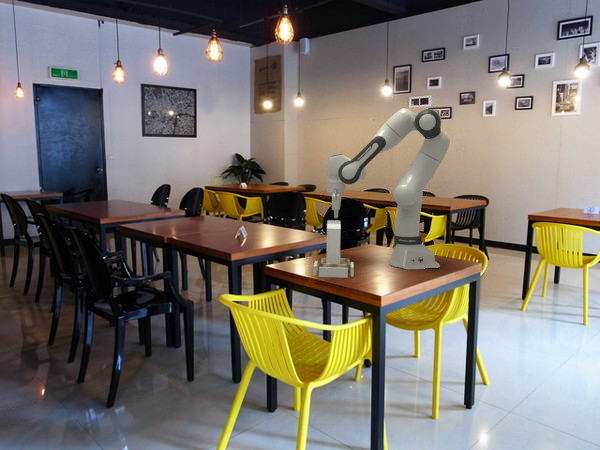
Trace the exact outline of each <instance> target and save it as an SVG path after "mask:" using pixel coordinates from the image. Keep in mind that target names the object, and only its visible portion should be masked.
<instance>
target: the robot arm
mask: <svg viewBox="0 0 600 450" xmlns="http://www.w3.org/2000/svg"><path fill="white" fill-rule="evenodd" d="M441 126H442V117H441V115H440V113H439V112H438V111H436V110H434V109H432V108H428V109H424V110H421V111H420V112H418V113H415V112H414V111H412V110H411V109H409V108H406V107H403V108H400V109H399V110H397V111H396V112H395V113H394V114H392V115H391V116H390V117H389V118H388V119H387V120H386V121H385V122H384V123H383V124H382V126H380V128H379V129H378V130H377V132H376V133H375V135H374V136H373V137H372V138H371V140H370V141H369V142H368V143H367V144H366V145H365V147H363V148H362V149H361V150H360V151H359V152H358V154H357V155H355V156H354V157H353V158H352V159H351V158H349V157H348V156H346V155H345V154H341V153H340V154H334V155H331V156H330V157H329V158H328V160H327V170H326V172H327V173H326V174H327V182H326V192H327V193H329V197H331V210H332V211H333V213H334V214H333V217H334V219H338V218H339V211H340V209H341V205H342V204H341V202H342V197H343V196H344V193H346V191H347V185H352V184H355V183H357V182H358V183H359V182H360V181H362V180H364V179H365V177H366V175H367V169H366V167H367V166H368V165H369V163H370V162H371V161H373V160H374V159H375V158H376V157H377V156H378V155H380V154H381V153H384V152H386V151H389V150H392V149H393V148H394V147H396V146H397V145H398V144H400V143H401V142H402V140H404V139H405V138H406V137H407V136H408V135H409V134H410V133H411V132H413V131H416V132H418V133H420V135H421V136H423V138H424V140H423V143H422V145H421V146H420V149H419V150H418V152H417V153H416V155H415V158H414V159H413V161H412V162H411V164H410V165H409V167H408V169H407V170H406V171H405V173H404V174H403V176H402V177H401V178H400V180H399V181H398V183H397V185H396V186H395V188H394V189H393V193H392V195H393V200H394V202H395V203H396V204H397V207H396V213H395V217H394V234H393V239H392V246H393V250H392V256H391V259H390V262H389V264H390V266H392V267H396V268H400V269H403V270H426V269H425V268H438V267H441V265H440V263H439V262H437V261H436V257H435V254H434V252H433V251H432V250H431V249H430V248H428V247H427V246H426V245H425V244H424V243H425V242H426V238H424V237H422V236H421V235H420V221H421V212H422V211H421V210H422V204H423V196H424V195H423V193H424V190H425V189H426V187H427V185H428V184H429V183H430V181H431V180H432V178H433V177H434V175H435V174H436V172H437V170H438V168H439V167H440V165H441V164H442V162H443V160H444V158H445V157H446V154H447V151H448V149H449V148H450V143H451V140H450V138H449V137H448V135H446V134H445V133H444V132H442V131H441V130H442V129H441V128H442V127H441Z"/></svg>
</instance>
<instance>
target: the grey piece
mask: <svg viewBox="0 0 600 450" xmlns="http://www.w3.org/2000/svg"><path fill="white" fill-rule="evenodd" d="M354 265H355V264H354V261H350V271H348V268H333V267H321V266H319V262H318V260H315V261H314V263H313V271H312V273H313V274H312V275H313V276H314V277H315V276H317V273H318V277H319V278H338V279H339V278H340V279H341V278H342V279H343V278H344V279H345V278H346V279H348V275H349V272H350V277H351V278H352V277H353V278H354V276H355V275H354V274H355V273H354V267H355V266H354Z"/></svg>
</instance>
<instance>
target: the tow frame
mask: <svg viewBox="0 0 600 450" xmlns="http://www.w3.org/2000/svg"><path fill="white" fill-rule="evenodd" d="M326 262H327V257H321V260H320V267H333V268H348V272H351V271H350V270H351V261H350V258H347V257H346V258H345V257H342V252H341V251H340V264H326Z"/></svg>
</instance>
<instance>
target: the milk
mask: <svg viewBox="0 0 600 450" xmlns="http://www.w3.org/2000/svg"><path fill="white" fill-rule="evenodd" d="M326 226H327V227H326V258H327V262H326V264H340V252H341V229H342V228H341V220H333V219H331V220H330V219H328V220H327V221H326Z"/></svg>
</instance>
